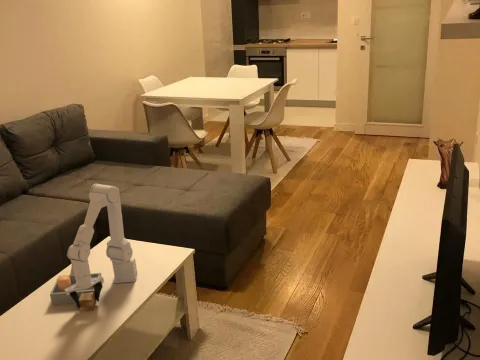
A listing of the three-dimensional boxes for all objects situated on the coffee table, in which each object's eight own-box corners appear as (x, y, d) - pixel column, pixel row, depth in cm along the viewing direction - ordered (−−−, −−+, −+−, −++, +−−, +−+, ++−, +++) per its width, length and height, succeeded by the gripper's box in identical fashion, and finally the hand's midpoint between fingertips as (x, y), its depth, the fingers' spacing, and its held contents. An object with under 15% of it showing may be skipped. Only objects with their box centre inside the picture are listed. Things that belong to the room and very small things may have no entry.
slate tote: (102, 283, 219) (100, 272, 217) (96, 301, 207) (94, 290, 205) (61, 286, 219) (58, 276, 217) (52, 304, 206) (49, 294, 204)
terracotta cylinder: (65, 289, 215) (61, 274, 213) (75, 290, 214) (72, 275, 211) (57, 295, 211) (54, 281, 208) (68, 297, 209) (64, 282, 207)
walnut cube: (96, 302, 206) (94, 292, 204) (93, 310, 201) (91, 299, 200) (83, 303, 206) (81, 293, 204) (80, 311, 201) (78, 300, 199)
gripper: (97, 263, 205) (102, 292, 210) (60, 275, 197) (66, 305, 202) (103, 270, 199) (108, 300, 204) (66, 283, 192) (72, 314, 197)
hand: (88, 303), depth 203 cm, fingers open, 7 cm apart
